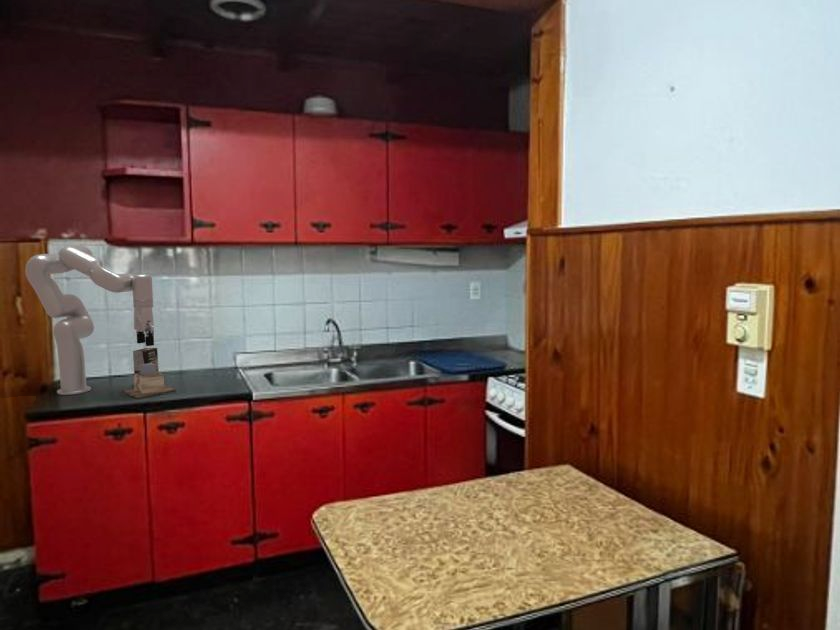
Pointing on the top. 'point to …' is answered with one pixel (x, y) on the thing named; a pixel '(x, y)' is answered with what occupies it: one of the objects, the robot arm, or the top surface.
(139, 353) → the coffee box
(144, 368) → the grey cube
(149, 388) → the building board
